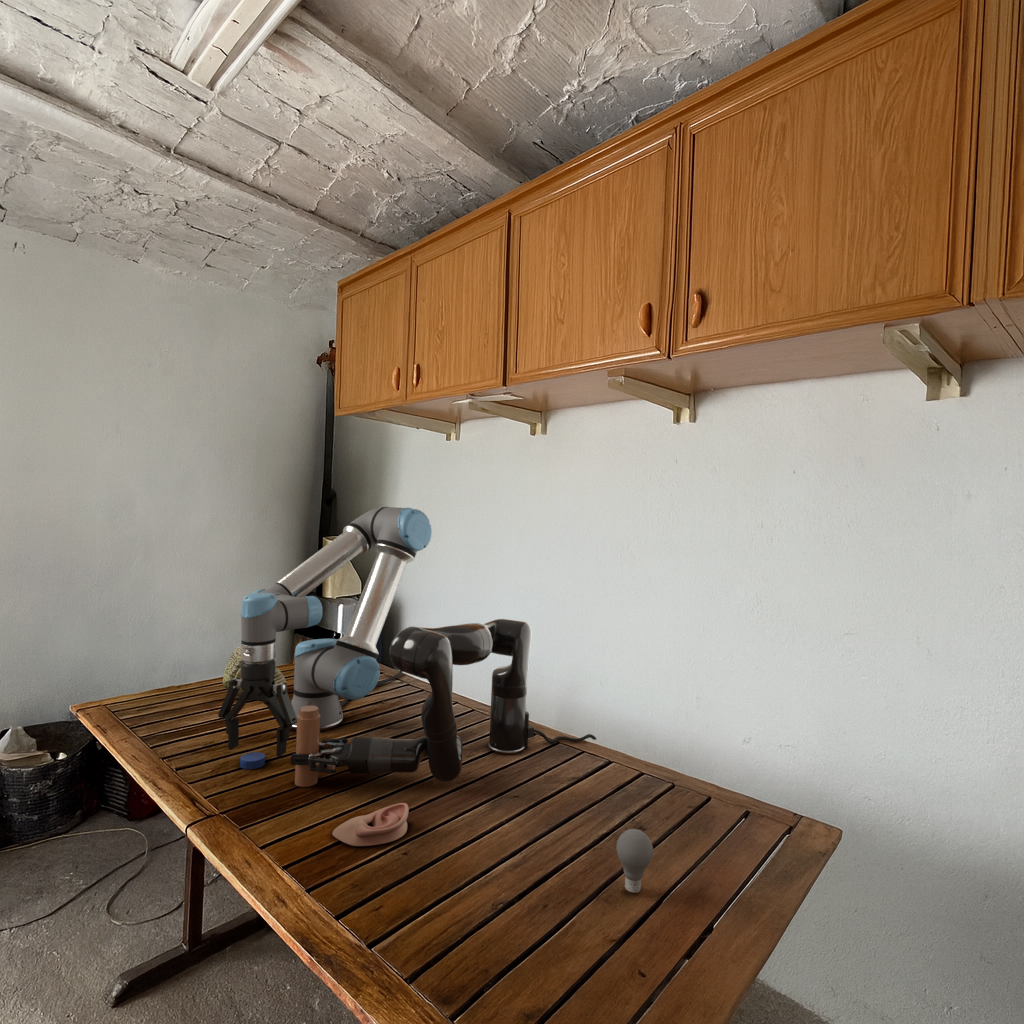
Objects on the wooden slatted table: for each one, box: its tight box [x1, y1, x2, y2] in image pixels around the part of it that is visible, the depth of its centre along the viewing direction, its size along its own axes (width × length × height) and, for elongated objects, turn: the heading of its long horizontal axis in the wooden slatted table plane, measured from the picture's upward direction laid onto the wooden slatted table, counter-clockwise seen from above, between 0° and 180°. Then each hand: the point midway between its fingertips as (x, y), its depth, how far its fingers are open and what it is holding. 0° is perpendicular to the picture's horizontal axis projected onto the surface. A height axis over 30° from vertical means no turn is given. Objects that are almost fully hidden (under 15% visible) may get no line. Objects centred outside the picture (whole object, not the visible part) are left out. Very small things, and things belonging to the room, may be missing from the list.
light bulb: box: [615, 828, 654, 894], centre depth 106 cm, size 6×6×10 cm
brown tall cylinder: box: [294, 706, 321, 788], centre depth 140 cm, size 5×5×16 cm
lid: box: [239, 751, 266, 770], centre depth 148 cm, size 6×6×2 cm
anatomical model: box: [332, 802, 410, 847], centre depth 121 cm, size 13×4×12 cm
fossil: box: [222, 646, 287, 699], centre depth 198 cm, size 9×18×15 cm, turn 132°
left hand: (257, 751), depth 149 cm, fingers open, 12 cm apart
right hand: (295, 754), depth 140 cm, fingers closed on brown tall cylinder, 5 cm apart
